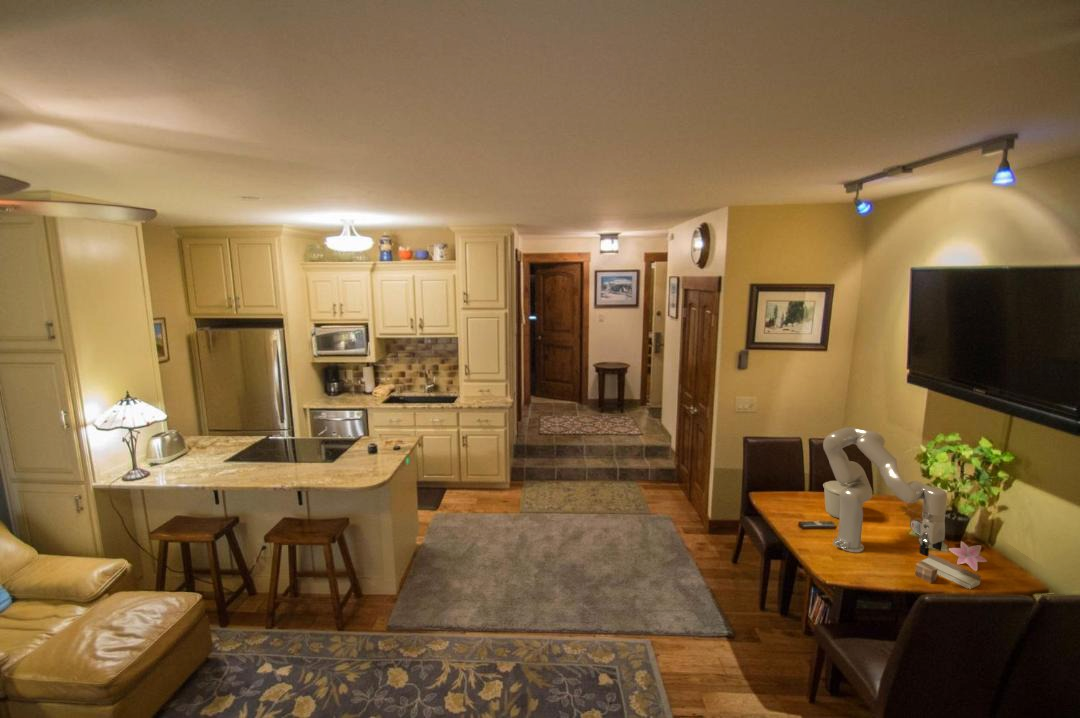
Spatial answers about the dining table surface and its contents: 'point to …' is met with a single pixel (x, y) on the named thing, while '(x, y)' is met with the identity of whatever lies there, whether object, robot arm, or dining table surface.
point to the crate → (926, 572)
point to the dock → (953, 572)
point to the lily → (968, 555)
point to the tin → (916, 525)
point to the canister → (833, 497)
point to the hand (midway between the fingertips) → (930, 551)
